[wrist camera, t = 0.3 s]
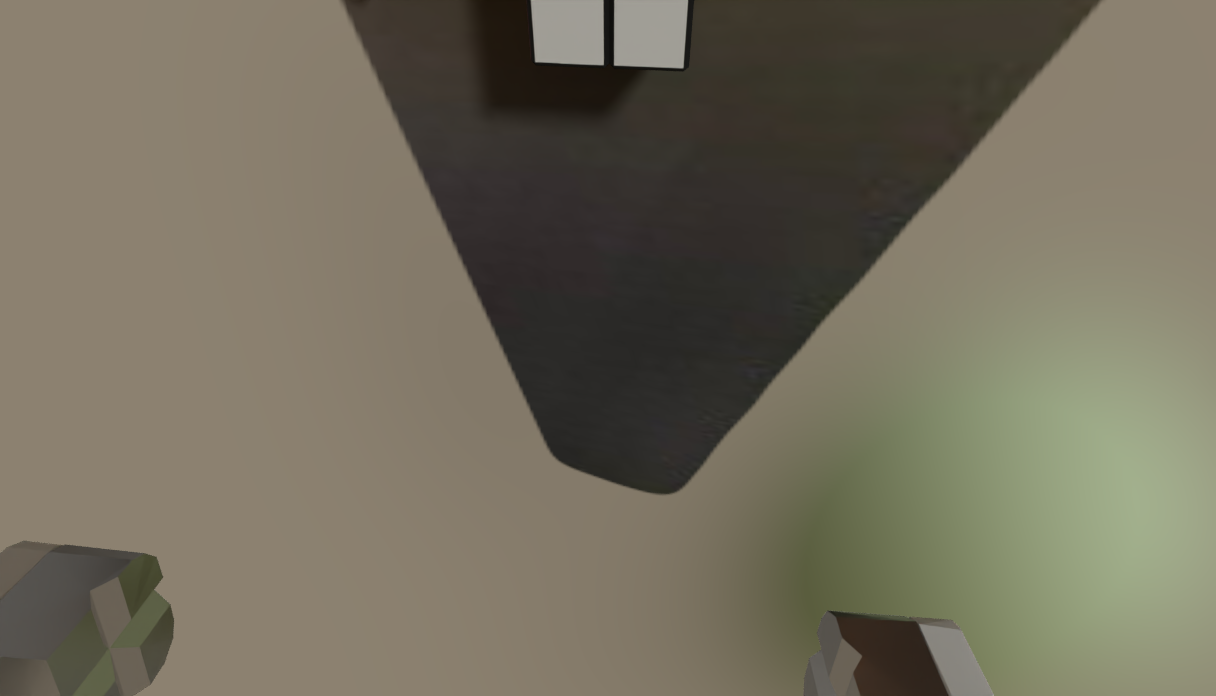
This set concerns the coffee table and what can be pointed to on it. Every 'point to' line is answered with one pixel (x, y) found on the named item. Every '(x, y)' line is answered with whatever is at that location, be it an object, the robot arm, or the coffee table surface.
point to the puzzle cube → (611, 33)
